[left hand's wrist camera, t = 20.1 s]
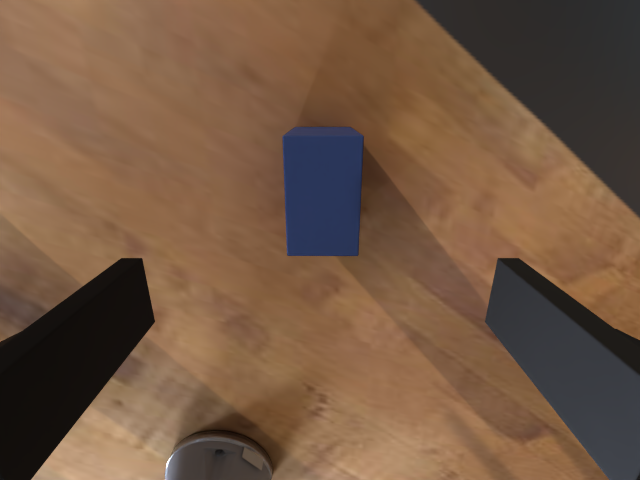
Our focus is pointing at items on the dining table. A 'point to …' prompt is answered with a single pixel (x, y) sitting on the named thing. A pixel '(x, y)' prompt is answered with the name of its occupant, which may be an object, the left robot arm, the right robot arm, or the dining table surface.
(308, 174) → the block
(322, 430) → the dining table surface
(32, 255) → the dining table surface
